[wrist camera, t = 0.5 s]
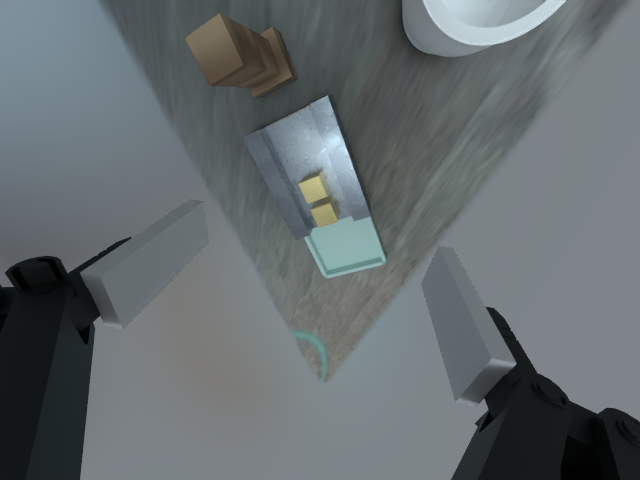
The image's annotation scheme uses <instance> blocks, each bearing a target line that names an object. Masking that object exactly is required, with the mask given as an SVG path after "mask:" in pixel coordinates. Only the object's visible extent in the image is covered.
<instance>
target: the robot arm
mask: <svg viewBox="0 0 640 480" xmlns="http://www.w3.org/2000/svg"><path fill="white" fill-rule="evenodd" d="M207 244H208V233H207V225H206V217H205V209H204V202H203V201H198V200H192V199H190V200H189V201H187V202H186V203H184V204H183V205H181V206H180V207H178V208H177V209H175V210H174V211H172V212H171V213H169V214H168V215H166V216H164V217H163V218H161V219H160V220H159V221H157V222H155V223H154V224H152V225H151V226H150V227H148V228H146V229H145V230H143V231H142V232H140V233H139V234H137V235H136V236H134V237H133V238H132V237H129V238H126V239H124V240H121V241H118V242H116V243H115V244H113V245H112V246H110V247H108V248H107V250H104V251H103V252H101V253H99V254H98V256H94V257H93V258H91V259H90V260H88V261H87V262H85V263H83V264H82V265H80V266H79V267H77V268H76V269H74V270H73V271H71V272H69V273H67V272H66V270H65V268H64V266H63V264H62V262H61V260H60V259H59V258H57V257H52V256H42V257H35V258H31V259H27V260H25V261H22V262H19V263H17V264H15V265H14V266H12V267H10V268H9V269H8V270H7V271H6V272H5V274H6V275H7V277H8V278H9V280H10V281H11V283H12V284H13V286H14V287H2V286H1V285H0V480H80V474H81V464H82V454H83V443H84V433H85V424H86V414H87V403H88V394H89V383H90V374H91V364H92V354H93V344H94V334H95V327H94V324H93V321H95V320H96V319H97V318H98V317H99V316H101V318H102V320H103V322H104V324H105V326H109V327H114V328H118V329H124V328H125V327H126V326H127V325H128V324H129V323H130V322H131V321H132V320H133V319H134V318H135V317H136V316H137V315H138V314H139V313H140V312H141V311H142V310H143V309H144V308H145V307H146V306H147V305H148V304H149V303H150V302H151V301H152V300H153V299H154V298H155V297H156V296H157V295H158V294H159V293H160V292H161V291H162V290H163V288H164V287H165V286H166V285H167V284H168V283H169V282H170V281H171V280H172V279H173V278H174V277H175V276H176V275H177V274H178V273H179V272H180V271H181V270H182V269H183V268H184V267H185V266H186V265H187V264H188V263H189V262H190V261H191V260H192V259H193V258H194V257H195V256H196V255H197V254H198V253H199V252H200V251H201V250H202V249H203V248H204V246H206V245H207ZM421 286H422V289H423V292H424V296H425V299H426V303H427V306H428V309H429V313H430V316H431V320H432V323H433V327H434V330H435V334H436V337H437V340H438V344H439V347H440V351H441V354H442V358H443V361H444V364H445V368H446V371H447V375H448V378H449V381H450V385H451V388H452V392H453V395H454V398H455V402H458V403H462V404H467V405H471V406H477V405H478V404H479V403H480V402H481V401H482V400H483V399H484V398H485V401H486V403H487V406H488V409H489V410H488V411H487V412H486V413H485V414H484V415H483V416H482V417H481V418H480V419H479V420H478V421H477V422H476V423H475V424H476V425H477V426H478V427H477V429H476V432H475V433H474V435H473V437H472V439H471V441H470V443H469V445H468V447H467V449H466V451H465V453H464V455H463V457H462V459H461V461H460V463H459V465H458V467H457V469H456V471H455V473H454V475H453V477H452V479H451V480H640V422H639V421H638V420H636V419H634V418H633V417H631V416H630V415H628V414H627V413H625V412H622V411H620V410H617V409H615V408H606V409H604V410H603V411H601V412H600V413H598V414H596V413H594V412H592V411H590V410H588V409H586V408H583V407H581V406H579V405H577V404H575V403H573V402H571V401H569V399H568V397H567V395H566V394H565V393H564V392H563V391H562V390H561V389H560V388H559V386H557V385H556V384H555V383H553V382H552V381H551V380H550V379H548V378H546V377H544V376H542V375H541V374H538V373H537V372H536V370H535V368H534V367H533V365H532V363H531V362H530V360H529V358H528V357H527V355H526V353H525V352H524V350H523V349H522V347H521V345H520V343H519V342H518V340H516V337H515V335H514V334H513V332H512V331H511V329H510V327H509V325H508V324H507V322H506V320H505V319H504V318H503V317H502V316H501V315H500V314H499V313H498V312H497V311H496V310H495V309H494V308H490V307H485V305H484V303H483V301H482V300H481V298H480V296H479V294H478V292H477V291H476V289H475V287H474V285H473V284H472V282H471V280H470V278H469V276H468V274H467V272H466V271H465V269H464V267H463V265H462V263H461V262H460V260H459V258H458V256H457V254H456V253H455V251H454V249H453V248H449V247H444V246H443V247H442V246H438V248H437V250H436V253H435V255H434V257H433V259H432V261H431V264H430V266H429V268H428V270H427V272H426V274H425V277H424V279H423V281H422V283H421Z"/></svg>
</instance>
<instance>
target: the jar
mask: <svg viewBox="0 0 640 480" xmlns="http://www.w3.org/2000/svg"><path fill="white" fill-rule="evenodd" d="M565 1H566V0H402V7H403V10H402V17H403V25H404V29H405V32H406V35H407V37H408V39H409V40H410V42H411V43H412V44H413V45H414V46H415V47H416V48H417V49H419V50H420V51H422V52H425V53H428V54H435V55H439V56H444V57H459V56H465V55H469V54H473V53H476V52H479V51H481V50H483V49H486V48H488V47H490V46H492V45H495V44H499V43H503V42H506V41H509V40H512V39H514V38H516V37H519V36H521V35H523V34H525V33H526V32H528V31H530V30H531V29H533V28H535V27H536V26H538V25H539V24H540V23H542V22H543V21H544V20H546V19H547V18H548V17H549V16H551V15H552V14H553V13H554V12H555V11H556V10H557V9H558V8H559V7H560V6H561V5H562V4H563V3H564V2H565Z"/></svg>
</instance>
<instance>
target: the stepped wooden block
mask: <svg viewBox="0 0 640 480" xmlns="http://www.w3.org/2000/svg"><path fill="white" fill-rule="evenodd" d="M185 39H186V41H187V43H188V45H189V47H190V49H191V51H192V53H193V54H194V56H195V58H196V60H197V62H198V64H199V66H200V68H201V69H202V71H203V73H204V75H205V77H206V79H207V81H208V83H209V85H212V86H236V87H249V89H250V92H251V94H252V96H253V98H256V97H263V96H265V95H267V94H269V93H270V92H272V91H274V90H276V89H278V88H280V87H281V86H283V85H285V84H287V83H289V82H291V81H293V80H294V79H296V78H298V77H297V74H296V72H295V69H294V67H293V64H292V62H291V59H290V56H289V54H288V51H287V49H286V46H285V44H284V41H283V39H282V36H281V34H280V32H279V31H278V30H276V29H275V28H273V27H270V28H269V29H267V30H266V31H264V32H263V33H261V34H257V33H255V32H253V31H252V30H250V29H248V28H246V27H244V26H242V25H240V24H239V23H237V22H235V21H233V20H231V19H229V18H228V17H226V16H224V15H222V14H220V13H219V14H217V15H216V16H215V17H213V18H212V19H210V20H209V21H208V22H206V23H205V24H203V25H202V26H201V27H199V28H198V29H196V30H195V31H194V32H192V33H191V34H189V35H188V36H187V37H185Z"/></svg>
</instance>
